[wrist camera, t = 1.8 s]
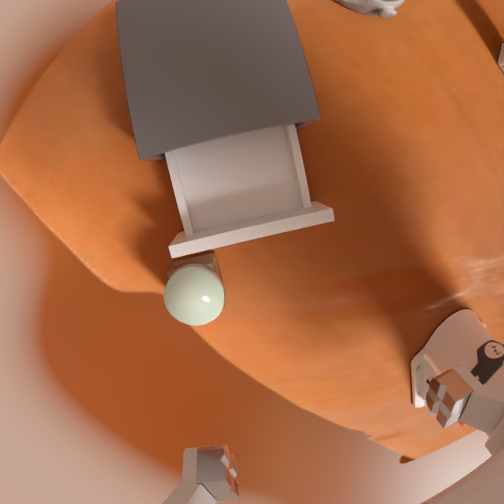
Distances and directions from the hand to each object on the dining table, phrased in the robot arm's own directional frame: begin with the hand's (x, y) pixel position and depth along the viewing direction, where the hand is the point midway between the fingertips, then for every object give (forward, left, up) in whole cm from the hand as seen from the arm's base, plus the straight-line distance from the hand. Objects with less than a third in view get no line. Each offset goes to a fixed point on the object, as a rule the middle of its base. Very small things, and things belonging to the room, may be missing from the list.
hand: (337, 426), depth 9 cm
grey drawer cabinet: (+21, +1, -25) cm, 33 cm away
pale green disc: (-2, +8, -21) cm, 23 cm away
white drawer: (+11, +1, -25) cm, 27 cm away
